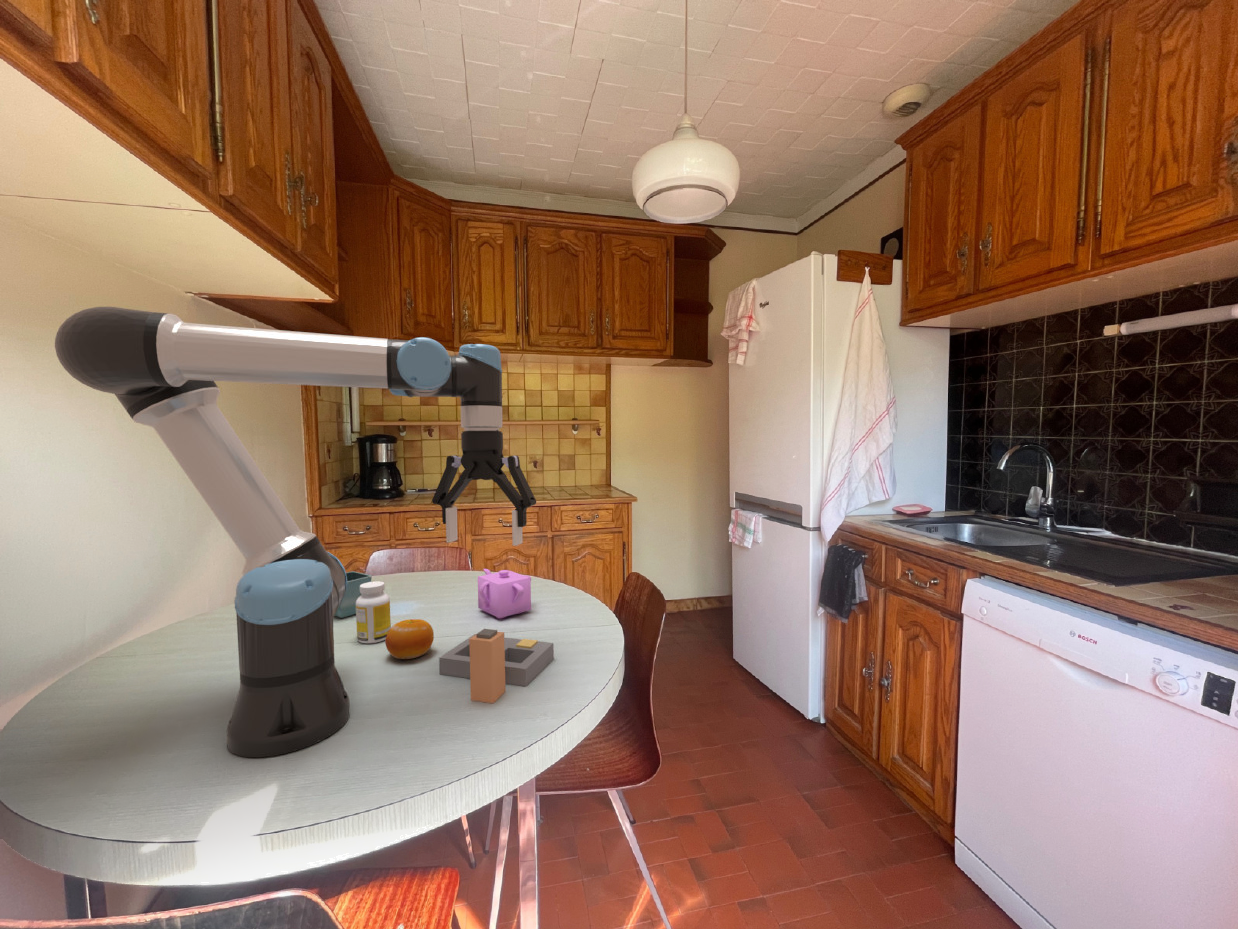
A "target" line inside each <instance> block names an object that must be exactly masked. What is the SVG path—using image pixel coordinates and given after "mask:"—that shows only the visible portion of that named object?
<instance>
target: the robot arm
mask: <svg viewBox="0 0 1238 929" xmlns="http://www.w3.org/2000/svg"><path fill="white" fill-rule="evenodd" d="M54 338H55V339H54V348H55V354H56V357H57V359H58V361H59V363H60V364H61V366H62V368H63V369H64V370H65V371H66V372H67V373H68V374H69V375H70V376H71V377H72V378H74V379H75V380H77V381H78V382H79V383H81V384H82V385H85V386H86V387H89V388H91V389H93V390H97V391H99V392H103V393H108V394H113V395H115V396H116V399H117V400H118V401H119V403H120V404H121V405H122V407H123V408H124V410H125V411H126V413H128V415H129V416H130V418H131V419H132V420H133V422H134V423H135V424H141V425H144V426H148V427H151V428H153V429H154V431H155V432H156V433H157V435H158V436H159V437H160V439H161V441H162V442H163V444H165V446H166V448H167V449H168V450H169V452H170V453H171V455H172V456H173V457H174V459H175V461H176V462H177V463H178V465H179V466H180V468H181V469H182V471H183V472H184V474H186V476H187V477H188V479H189V480H190V482H191V484H193V486H194V488H195V489H196V490H197V492H198V493H199V495H200V496H201V498H202V499H203V500H204V501H205V503H206V504H207V506H208V507H209V509H210V510H211V512H212V513H213V514H214V516H215V517H216V519H217V520H218V521H219V523H220V524H221V526H222V527H223V529H224V530H225V532H226V533H227V534H228V537H229V538H230V539H231V540H232V542H233V543H234V545H235V546H236V547H237V549H238V550H239V552H240V553H241V554H242V555H243V558H244V560H245V563H244V566H243V569H242V572H241V574H242V576H241V577H240V579H239V581H238V583H237V584H236V588H235V597H234V610H235V614H236V627H237V628H236V630H237V648H238V666H239V667H238V668H239V690H238V693H237V696H236V698H235V699H236V700H235V703H234V706H233V710H232V714H231V717H230V719H229V721H228V724H227V727H226V744H227V749H228V751H230V752H231V753H233V755H237V756H241V757H246V758H264V757H265V758H266V757H275V756H279V755H284V754H288V753H291V752H295V751H298V750H302V749H304V748H307V747H309V746H312V745H314V744H317V743H318V742H321V741H323V740H325V739H326V738H328V737H330V736H331V735H333V734H335V733H336V732H337V731H339V730H340V729H341V728H342V727H343V726H344V725H345V724H346V723H347V721H348V719H349V717H350V714H351V711H350V710H351V708H350V698H349V695H348V692H347V691H346V690H345V687H344V684H343V682H342V681H343V680H342V679H341V676H340V674H339V672H338V671H337V670H338V669H337V667H336V662H335V639H334V637H335V636H334V635H335V634H334V618H335V616H334V615H335V613H336V611H337V609H338V607H339V606H340V604H341V603H342V601H343V599H344V597H345V593H346V590H347V576H346V573H347V572H346V569H345V566H344V565H343V563H342V562H341V561H340V560H339V558H338V557H337V556H335V555H334V554H332V553H331V552H329V551H327V550H326V549H325V547H324V545H323V544H322V543H321V541H320V539H319V537H318V536H317V535H316V534H315V533H312V532H308V531H303V530H301V529H300V528H299V526H298V525H297V523H296V522H295V520H294V518H293V517H292V516H291V514H290V513H289V511H288V509H287V508H286V506H285V505H284V503H283V502H282V500H281V499H280V498H279V496H278V495H277V493H276V491H275V490H274V489H273V487H272V485H271V484H270V482H269V481H268V479H267V478H266V476H264V474H263V472H262V471H261V469H260V468H259V466H258V465H257V463H256V461H255V460H254V459H253V457H252V455H251V453H249V451H248V449H247V448H246V447H245V445H244V444H243V442H242V441H241V440H240V438H239V436H238V435H237V433H236V431H235V430H234V428H233V427H232V425H230V423H229V421H228V420H227V418H226V417H225V415H224V413H223V412H222V410H221V409H220V408H219V406H218V404H217V402H218V398H219V396H220V394H221V390H220V388H219V386H218V385H217V383H216V382H226V383H227V382H230V383H254V384H255V383H256V384H276V385H277V384H278V385H298V386H299V385H300V386H317V387H319V386H320V387H341V388H342V387H346V388H367V389H388V390H389V392H390V393H391V394H392V395H393V396H398V397H408V398H413V397H422V398H426V397H427V398H428V397H429V398H430V397H432V398H442V397H443V398H448V397H450V398H459V399H460V427H461V428H462V429H464V430H463V431H461V436H460V437H461V440H460V442H461V443H460V444H461V450H462V455H461V456H459V455H458V454H457V455H456V454H455V455H447V456H446V462H445V468H444V471H443V473H442V475H441V477H440V480H439V483H438V485H437V487H436V489H435V493H434V495H433V497H432V499H431V503H432V504H433V505H438V506H440V507H441V516H442V517H441V518H442V520H441V521H442V524H443V525H445V535H446V538H445V539H446V543H447V544H448V543H453V542H456V541H458V506H455V503H456V501H457V500H458V499H459V497H460V496H461V495H462V493H463V492H464V491H465V489H466V488H467V487H468V486H469V484H470V483H471V482H472V481H478V480H484V481H490V480H491V481H493V483H496V484H497V485H498V487H499V488H500V489H501V491H502V492H503V494H504V495H505V496H506V497H507V499H508V500H509V502H511V503H512V505H513V506H514V507H515V509H512V510H511V527H512V529H511V530H512V532H511V533H512V534H511V535H512V537H511V539H512V546H514V547H516V546H519V545H521V544H524V542H523V528H524V527H526V525H527V518H528V517H527V509H528V508H529V507H532V506H535V505H536V504H537V500H536V498H535V496H534V493H533V491H532V489H531V487H530V485H529V483H528V481H527V479H526V477H525V475H524V472H523V471H522V468H521V463H520V462H521V461H520V457H519V456H518V455H509V456H506V457H505V456H504V453H503V450H504V437H503V434H504V433H503V432H502V430H500V429H502V427H503V370H502V359H501V358H502V356H501V351H500V350H499V348H497V347H496V346H494V345H491V344H482V343H475V344H473V343H470V344H469V343H467V344H463V345H461V346H460V347H459V351H458V354H455V355H450V354H449V352H448V351H447V348H445V347H444V346H443V344H441V343H440V342H439V341H437V340H435V339H432V338H431V337H425V336H424V337H423V336H420V337H415V338H412V339H410V340H407V339H406V340H405V339H392V338H389V339H388V338H382V337H381V338H380V337H368V336H357V335H355V336H354V335H343V334H330V333H319V332H318V333H317V332H306V331H305V332H304V331H292V330H280V329H269V328H268V329H267V328H266V329H265V328H258V327H257V328H256V327H255V328H253V327H244V326H240V327H239V326H234V325H233V326H230V325H229V326H228V325H217V324H204V323H195V322H193V323H191V322H184V321H183V319H181V318H180V317H179V316H178V315H176V314H174V313H168V312H166V313H165V312H157V311H156V312H153V311H147V310H140V309H131V308H123V307H115V306H96V307H95V306H94V307H89V308H85V309H83V310H80V311H77V312H75V313H74V314H71V315H70V316H69V317H68V318H66V319H65V320H64V321H63V322H62V324H61V325H60V326H59V328H58V330H57V332H56V335H55V337H54ZM504 465H505V467H506V468H507V469H508V470H509V474H510V476H511V478H512V480H513V483H514V485H515V486H516V488H515V486H514V485H513V484H512V483H511V481H510V480H509V479H508V477H507V474H505V472H504V470H502V469H503V467H504ZM461 466H462V467H463V468H464V469H463V471H462V472H461V474H460V475H459V477H458V479H457V481H456V482H455V483H454V485H453V486H452V484H453V482H454V481H455V480H454V479H455V477H456V475H457V472H458V471H459V468H460V467H461ZM451 487H452V488H451ZM450 488H451V489H450Z"/></svg>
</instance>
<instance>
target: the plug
mask: <svg viewBox="0 0 1238 929" xmlns="http://www.w3.org/2000/svg"><path fill="white" fill-rule="evenodd" d="M475 634H476V635H475V636H473V637H472V638H470V639H469V647H470V678H469V679H470V682H469V683H470V684H469V686H470V700H471V701H475V702H481V703H488V704H494V703H495V702H497V700H499V698H501V696H503V694H505V693H506V683H505V646H504V637H505V632H503V631H498V630H497V629H491V628H484V629H482V630H480V631H479V632H477V633H475Z"/></svg>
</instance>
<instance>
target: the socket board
mask: <svg viewBox="0 0 1238 929" xmlns="http://www.w3.org/2000/svg"><path fill="white" fill-rule="evenodd" d="M476 634H477V633H474V634H472V635H470V636H469V637H468V638H467V639H465V640H463V641H462V642H461V643H459V644H457V645H456V646H453V648H451V649H450V650H449V651H447V652H445V653H444V654H442V655H441V656H439V657H438V662H439V663H438V664H439V666H438V669H439V675H443V676H450V677H457V678H465V679H470V647H469V639H470V638H472V637H473V636H475V635H476ZM504 646H505V685H514V686H520V687H527V686H528V685H529V684H531V682H532V681H533V680H534V679H535V678H536V677H537V676H538V675H539V674H540V673H541V672H542V671H543V670H544V669H545V668H546V667H547V666H548V665H549V664H550V663H551V662H552V661H553V660H554V659H555V658H554V657H555V653H554V648H555V647H554V642H549V641H540V640H537V639H527V638H522V639H521V638H513V637H505V636H504Z"/></svg>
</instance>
